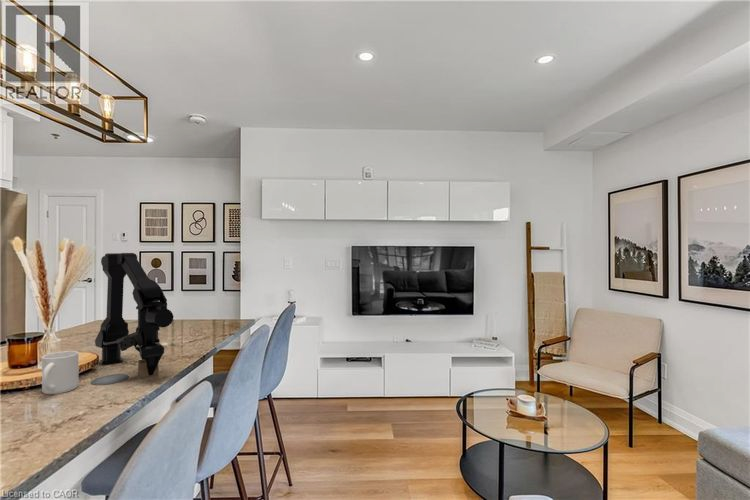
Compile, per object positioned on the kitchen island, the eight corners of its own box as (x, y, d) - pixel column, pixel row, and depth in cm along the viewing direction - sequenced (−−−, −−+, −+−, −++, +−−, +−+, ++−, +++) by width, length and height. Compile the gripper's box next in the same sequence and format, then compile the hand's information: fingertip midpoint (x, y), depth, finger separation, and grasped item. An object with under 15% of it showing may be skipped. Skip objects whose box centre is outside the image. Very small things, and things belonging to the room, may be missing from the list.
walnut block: (138, 375, 125) (138, 360, 125) (155, 372, 129) (155, 357, 129) (140, 379, 122) (140, 363, 122) (158, 376, 125) (158, 360, 125)
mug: (59, 399, 105) (59, 361, 105) (25, 401, 104) (25, 363, 104) (84, 383, 117) (84, 350, 117) (53, 385, 116) (53, 351, 116)
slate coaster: (89, 378, 122) (89, 378, 122) (127, 372, 128) (127, 371, 128) (91, 387, 114) (91, 387, 114) (131, 380, 120) (131, 379, 120)
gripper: (115, 322, 127) (115, 369, 127) (121, 332, 113) (122, 385, 113) (153, 318, 134) (154, 363, 134) (164, 327, 120) (164, 377, 120)
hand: (148, 371), depth 125 cm, fingers open, 9 cm apart
